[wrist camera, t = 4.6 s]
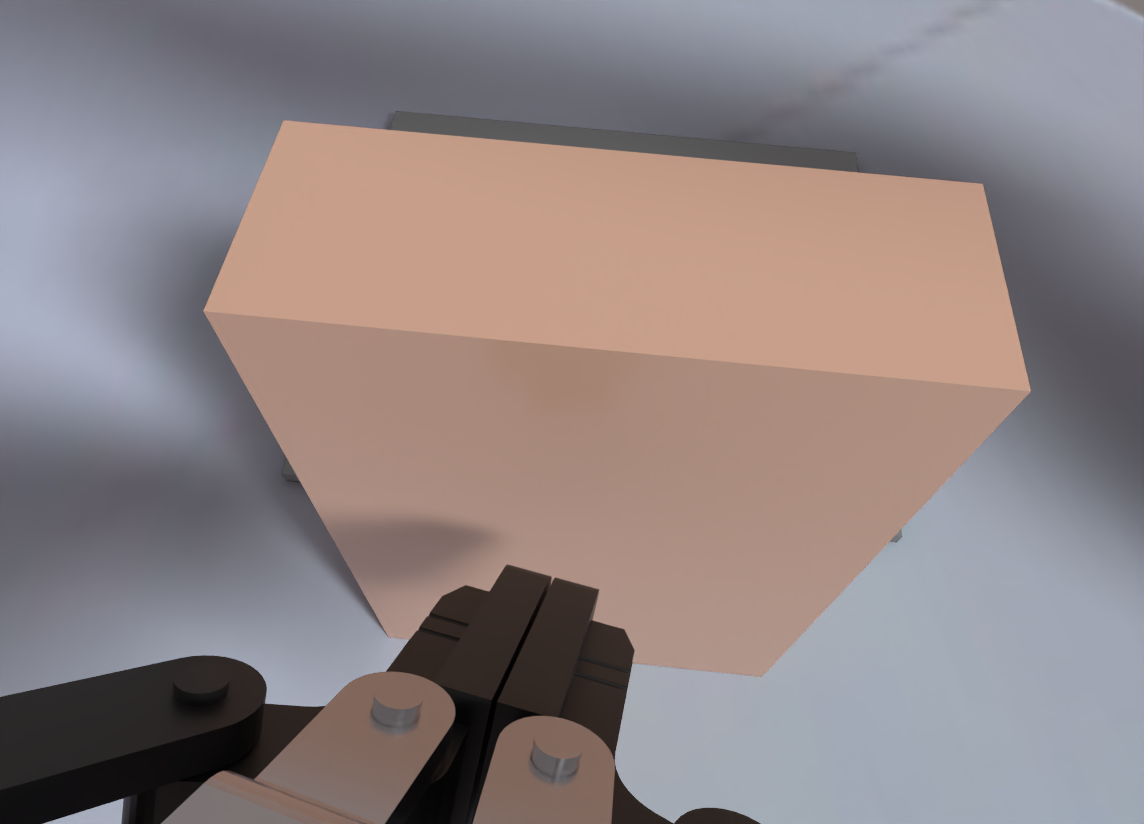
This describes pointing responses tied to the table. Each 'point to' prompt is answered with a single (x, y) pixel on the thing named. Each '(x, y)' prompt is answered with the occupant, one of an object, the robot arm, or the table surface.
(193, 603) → the table surface
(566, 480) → the peach rectangular block
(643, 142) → the mat
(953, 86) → the table surface
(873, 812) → the table surface
